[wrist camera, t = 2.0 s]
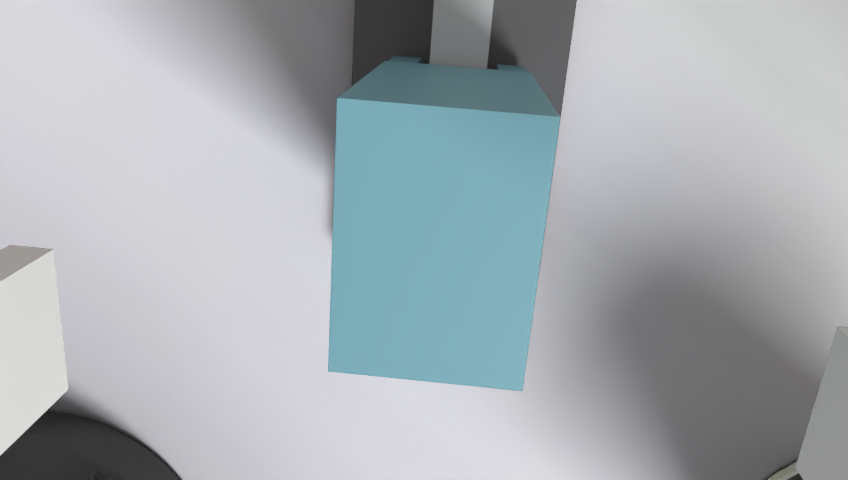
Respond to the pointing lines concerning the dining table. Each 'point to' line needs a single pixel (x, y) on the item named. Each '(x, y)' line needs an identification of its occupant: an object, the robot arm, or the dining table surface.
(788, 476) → the coffee can
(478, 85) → the block
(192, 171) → the dining table surface
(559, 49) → the rail
